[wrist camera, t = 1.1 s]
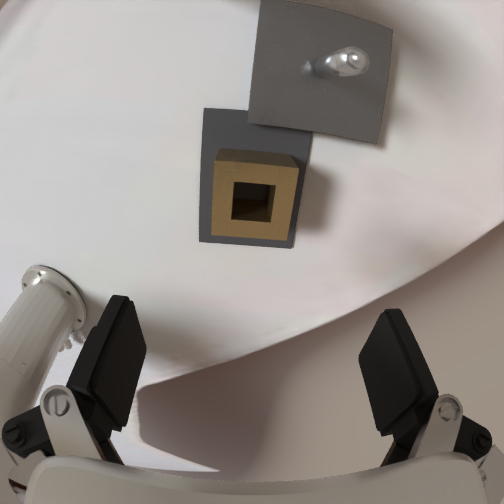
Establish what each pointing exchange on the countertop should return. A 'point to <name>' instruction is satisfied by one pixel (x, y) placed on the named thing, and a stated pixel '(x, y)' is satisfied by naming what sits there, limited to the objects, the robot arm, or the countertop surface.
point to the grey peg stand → (319, 71)
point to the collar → (253, 210)
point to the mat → (245, 138)
